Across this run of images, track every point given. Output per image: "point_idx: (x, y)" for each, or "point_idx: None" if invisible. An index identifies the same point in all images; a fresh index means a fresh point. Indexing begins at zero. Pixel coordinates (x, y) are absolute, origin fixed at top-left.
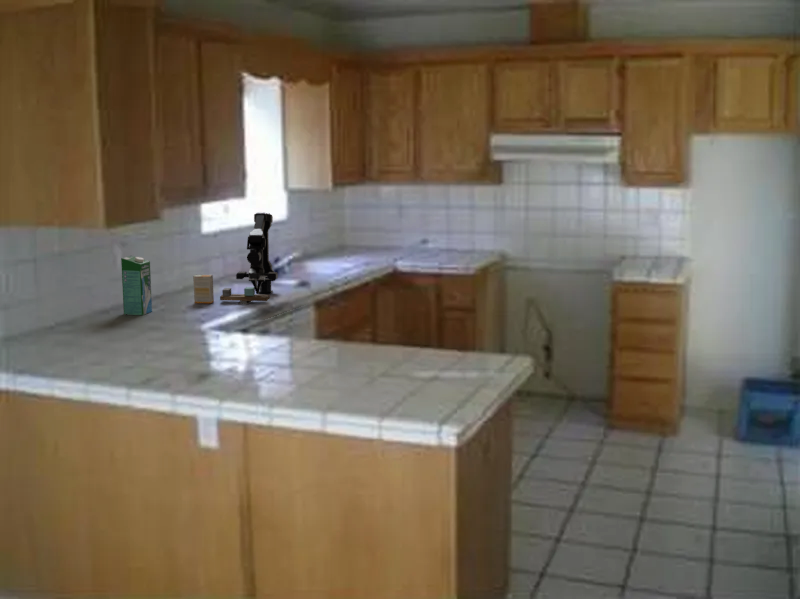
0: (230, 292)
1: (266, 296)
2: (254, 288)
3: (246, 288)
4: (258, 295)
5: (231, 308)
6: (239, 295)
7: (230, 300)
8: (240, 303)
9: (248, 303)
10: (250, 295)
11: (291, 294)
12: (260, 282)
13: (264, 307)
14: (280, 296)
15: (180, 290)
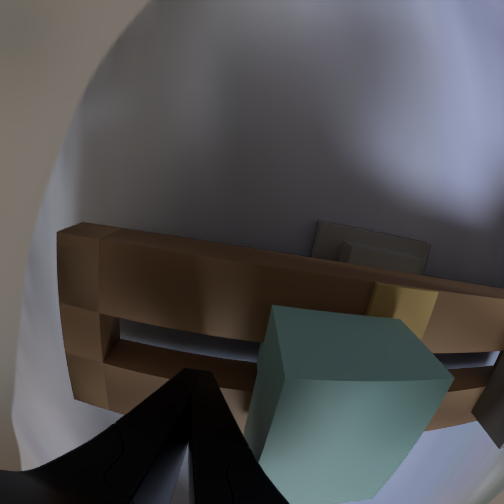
0: (500, 398)
1: (72, 297)
2: None
3: (410, 410)
4: None
5: (458, 46)
6: None
7: (490, 287)
8: (406, 238)
9: (320, 225)
10: (311, 311)
11: None
12: (20, 482)
13: (128, 39)
14: None
15: (498, 493)
